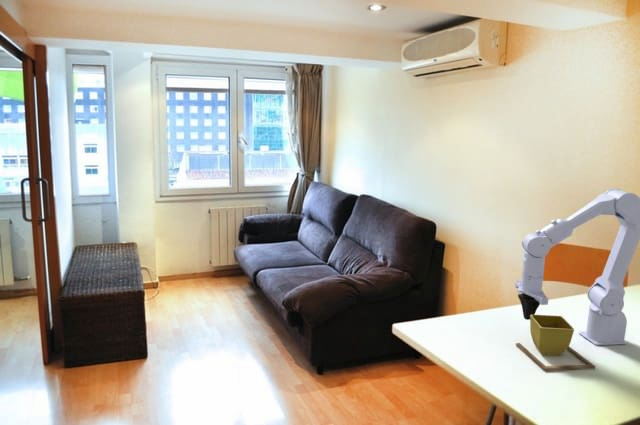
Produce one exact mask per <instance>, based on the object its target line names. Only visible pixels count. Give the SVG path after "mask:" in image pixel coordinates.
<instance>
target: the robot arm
mask: <svg viewBox="0 0 640 425" xmlns="http://www.w3.org/2000/svg"><path fill="white" fill-rule="evenodd" d="M603 215H604V216H615V218H616V219H617V221H618V222H619V223H620V226H619V229H618V233H617V234H616V238H615V240H614V242H613V245H612V248H611V251H610V252H609V253H610V254H609V255H608V258H607V261H606V263H605V266H604V268H603V272H602V274H601V275H600V276H598V277H597V278H595V280H594V283H593V284H592V285H591V286H590V287H589V288H588V290H587V293H586V295H587V298H588V300H589V301H590V305H589V306H588V307H589V309H588V314H587V316H588V317H587V324H586V331H578V334H579V335H581V336H582V337H583V338H585V339H587V341H589V342H591V343H592V344H594V345H595V346H609V345H610V346H611V345H613V346H614V345H615V346H616V345H626V344H627V342H626V341H625V338H626V331H627V324H628V321H627V320H628V319H627V316H626V315H625V313H624V312H623V311H622V310H623V309H624V306H625V301H624V297H625V295H626V291H625V286H624V281H625V278H626V275H627V273H628V270H629V268H630V265H631V263H632V260H633V257H634V254H635V252H636V250H637V247H638V245H639V242H640V197H639V196H638V195H637V194H635V193H633V192H627V191H626V190H625V191H624V190H621V189H619V188H610V189H608V190H607V191H605V192H604V193H601V194H599V195H597V196H596V197H595V199H593V200H591V201H590V202H588V204H586V205H585V206H583V207H582V208H580V209H579V210H577V211H575V212H574V213H573V214H571V215H570V216H568V217H566V219H563V218H557V219H551V220H550V224H548V225H546V226H544V227H543V228H541V229H536V230H535V233H534V232H533V233H529V234H527V235H526V236H525V237H524V239H523V240H522V241H521V246H522V248H523V249H524V252H523V261H522V270H521V280H516V281H515V283H514V284H515V285H514V288H516V292H518V294H517V297H518V299H519V302H520V304H521V309H522V310H521V311H522V315H523V319H525V320H528V321H529V320H530V315H536V312H537V310H538V308H539V307H540V305H541V306H546V305H548V304H549V297H547V296H546V294H545V293H544V290H543V285H544V284H543V282H544V275H545V274H544V272H545V265H546V264H545V262H546V256H547V255H548V254H549V253H550V251H551V248H553V247H554V246H557V245H558V244H560V243H561V242H563V241H564V240H566V239H567V238H569V237H571V236H572V235H573V232H574V229H576V228H578V227H580V226H582V225H583V224H586V223H588V222H589V221H591V220H593V219H594V218H597V217H599V216H603Z"/></svg>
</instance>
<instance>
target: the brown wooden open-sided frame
mask: <svg viewBox="0 0 640 425" xmlns="http://www.w3.org/2000/svg"><path fill="white" fill-rule="evenodd" d="M515 346H516V347H517V348H518V349H519V350H520V351H521V353H523V354H525V355H526V356H527V358H529V359H530V360H531V361H532V362H533V363H534V364H535V365H536V366H538V367H539V369H541V370H542V371H543V372H553V371H557V372H559V371H579V370H595V369H596V365H595V364H593V363H592V362H591V361H590V360H588V359H587V358H585V357H584V356H583V355H581V354H580V353H579V352H578V351H576V350H575V349H573V348H572V347H570V346H569V347H568V349H567V350H566V351H567V352H569V353H570V354H571V355H573V356H574V357H575V358H577V360H579V361H580V362H581V363H583V364H563V365H545V364H544V363H543V362H542V361H541V360H539V359H538V358H537V357H536V356H535V355H534V354H533V353H531V352H530V351H529V350H528V349H527V348H526V347H525V346H524V345H523V344H521V343H520V342H517V343H515Z"/></svg>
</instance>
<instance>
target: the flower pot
mask: <svg viewBox="0 0 640 425" xmlns="http://www.w3.org/2000/svg"><path fill="white" fill-rule="evenodd" d="M529 323H530V326H529V327H530V335H531V339H532V341H533V344H534V347H535V348H536V349H537V350H538V352H539V354H540V355H543V356H555V357H557V356H558V357H561V356H562V355H563V354H565V353H566V351H567V349H568V347H570V344H571V342H572V339H573V336H574V331H575V328H574V327H573V326H572V325H571V324H570V323H569V322H568V321H567V320H566V319H565V318H564V317H563V316H561V315H546V314H535V315H530V322H529Z"/></svg>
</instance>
